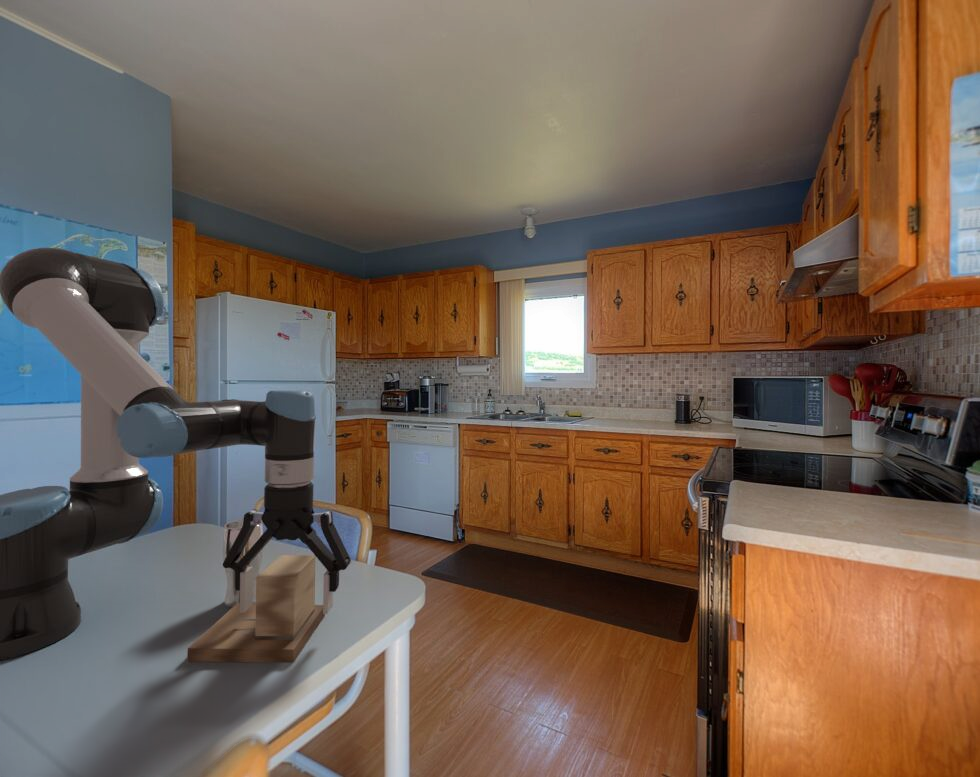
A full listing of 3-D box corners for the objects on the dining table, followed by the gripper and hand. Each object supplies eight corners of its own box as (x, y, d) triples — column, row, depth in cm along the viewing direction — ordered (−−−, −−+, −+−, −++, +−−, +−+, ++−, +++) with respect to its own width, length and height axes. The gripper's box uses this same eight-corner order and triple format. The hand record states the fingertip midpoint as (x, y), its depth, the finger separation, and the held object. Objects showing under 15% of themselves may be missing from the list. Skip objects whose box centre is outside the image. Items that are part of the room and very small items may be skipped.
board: (187, 661, 69) (187, 648, 69) (236, 614, 83) (236, 603, 83) (293, 662, 70) (293, 649, 70) (324, 615, 84) (325, 604, 84)
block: (255, 639, 72) (256, 576, 72) (280, 611, 81) (281, 555, 81) (293, 640, 72) (294, 577, 72) (314, 611, 81) (315, 555, 81)
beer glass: (245, 611, 85) (246, 530, 85) (212, 606, 86) (214, 527, 86) (270, 594, 92) (271, 519, 91) (240, 590, 93) (241, 517, 93)
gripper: (200, 486, 72) (197, 619, 73) (358, 489, 73) (355, 621, 73) (226, 476, 80) (224, 597, 80) (369, 479, 80) (367, 599, 81)
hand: (287, 609), depth 77 cm, fingers open, 13 cm apart
